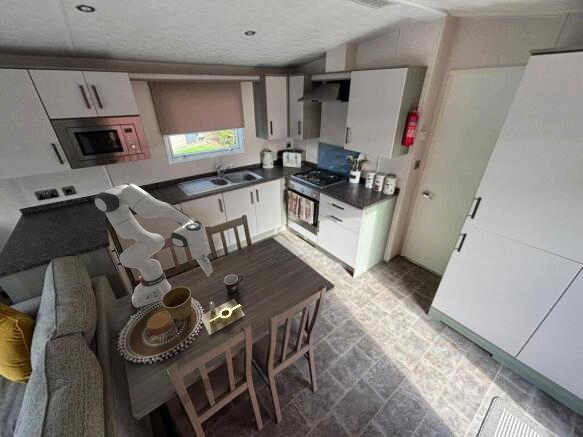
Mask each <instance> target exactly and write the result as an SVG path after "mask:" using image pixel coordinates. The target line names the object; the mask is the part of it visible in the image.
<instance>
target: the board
mask: <svg viewBox="0 0 583 437" xmlns="http://www.w3.org/2000/svg"><path fill="white" fill-rule="evenodd" d="M238 305H239V304H238V303H237V301H236V300H235V298H233V299H231V300H229V301H227V302H225V303H223V304H220V305H219V306H217V307H215V309H216V314H214V315H211V312H210V310H209V311H207V312H205V313H203V314H202V315H203V316H202V318H201V317H200V319H201V321H202V322H203V325H204V327H205V329H206V331H207V332H208V335H212V334H214V333H216V332H218V331H219V330H221V329H224V327H227V326H229V325H230V324H232V323H234V322H235V321H237V320H240V319H241V318H242V317H245V313H244V312H243V310H242V311H241V312H239V313H238V314H236V315H234V316H233V318H232V321H231V322H229V323H228V324H223V323H222V322H221V323H219V324H217V325H216V326H214V327H212V328H211V326H210V322H209V321H210V320H212V319H214V318H216V317H218V316H219V313H220V311H221V310H223V309H225V308H229V309H230V310H231V309H233V308H235V307H236V306H238ZM226 316H227V315H226Z"/></svg>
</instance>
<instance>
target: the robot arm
mask: <svg viewBox="0 0 583 437" xmlns="http://www.w3.org/2000/svg"><path fill="white" fill-rule="evenodd" d="M93 200H94V201H93V202H94V205H95V207H96V208H97V209H98V210H99V211H100V212H103V213H105V216H106V217H107V219H108V221H109V223H110V224H111V226H112V227H113V229H114V231H116V233H117V234H118V235H119V237H120V238H121V239H125V240H128V239H133V240H134V241H136V242H135V243H133V244H132V245H131V246H128V247H127V248H126V249H125V250H124V251H123V252H121V253H120V254H119V261H120V264H121V265H122V266H123V267H125V268H129V269H130V268H131V269H132V268H133V269H137V270H138V272H139V273H140V275H139V276H137V277H138V278H137V279H138V280H139V284H138V285H137V286H135V288H134V289H133V290H134V291H133V294H132V296H131V302H132V305H133V306H134V308H137V309H138V308H141V307H144V306H147V305H150V304H151V305H152V304H154V303H158V302H161V301H162V298H163V296H164V295H165V294H166V293H167V292H168V291H170V290H171V289H172V285H171V284H170V283H169V281H168V280H167V278H166V274H165V271H164V270H163V269H162V265H161V263H160V261H159V260H157V259H155V258H151V257H152V256H153V255H155V254H156V253H157V252H160V250H161V249H162V248H163V247H164V246H165V244H166V242H165V239H164V237H163V236H162V235H161V234H159V233H154V232H150V231H148V230H147V229H145V228H144V227H143V226H141V224H140V223H139V222H138V220H137V218H135V216H134V214H133V213H132V211H134V212H135V213H136V214H137V215H139V216H140V217H142V218H144V219H155V218H159V217H169V218H172V219H173V220H175V221H176V222H178V223H179V224H181V226H179V227H177V228H176V229H174V230H173V231H172V232H171V233H170V241H171V243H172V244H173V246H175V247H177V248H186V249H187V248H189V250H190V254H191V257H192V258H193V259H194V260H196V261H197V264H198V265H200V266H199V267H200V268H201V269H202V271H203V272H204V274H205V275H206V277H207V278H209V277H211V274H212V273H214V270H213V266H212V264H211V261H210V259H209V257H208V256H209V254H210V250H209V246H208V243H207V242H206V240H207V238H206V234H205V231H204V229H203V224H202V223H201V222H200V221H199V220H198V219H195V218H193V217H192V216H189V215H188V214H187V213H185V212H183V211H182V210H181V209H179V208H177V207H176V206H174V205H172V204H171V203H169V202H165V201H162V200H159V199H156V198H155V197H154V196H152V195H151V194H150V193H149V192H147V191H146V190H144V189H142V188H141V187H140V186H137V185H136V184H135V183H132V182H131V183H129V182H128V183H122V184H120V185H116V186H113V187H111V188H109V189H107V190H105V191H101V192H99V193H98V194H96V195H95V196H94V198H93ZM130 209H131V210H132V211H131V210H130ZM160 300H161V301H160ZM157 301H158V302H157Z"/></svg>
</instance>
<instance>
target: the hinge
mask: <svg viewBox="0 0 583 437" xmlns="http://www.w3.org/2000/svg"><path fill="white" fill-rule="evenodd" d="M241 311H242V312H243V310H242V305H241V304H238V306H236V307H235V308H233V309H231V310H230V309H229V308H225V309H223V310H221V311H220V313H219V316H218V317H216V318H214V319H212V320H210V321H209V322H210V326H211V328H212V327H214V326H216V325H217V324H219V323H221V322H222V323H223V324H228V323H229V322H231V321H232V318H233V316H234V315H236V314H238V313H239V312H241ZM226 315H227V316H226ZM228 325H229V324H228Z"/></svg>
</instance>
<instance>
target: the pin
mask: <svg viewBox="0 0 583 437" xmlns="http://www.w3.org/2000/svg"><path fill="white" fill-rule="evenodd" d="M208 306H209V311H210V312H211V315H214V314H216V309H215V308H216V305H215V302H214V301H213V300H211V301H209V302H208Z"/></svg>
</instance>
